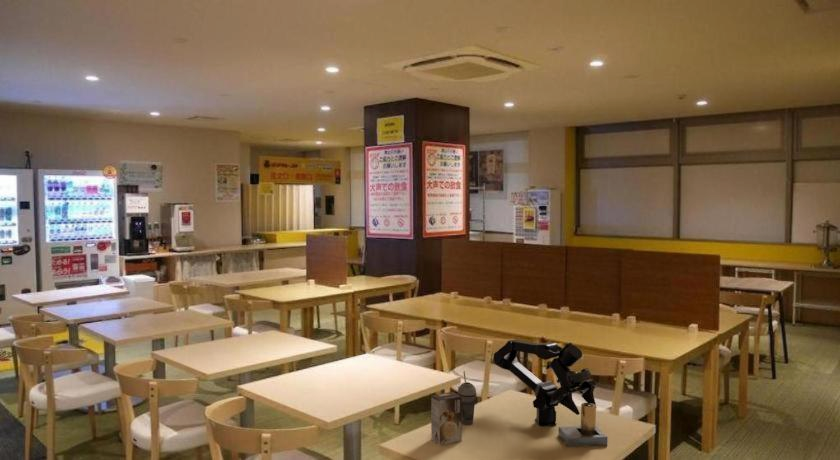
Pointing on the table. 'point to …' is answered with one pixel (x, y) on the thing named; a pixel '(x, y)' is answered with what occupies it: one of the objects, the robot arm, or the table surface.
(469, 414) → the beverage cup
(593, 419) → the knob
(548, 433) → the table surface
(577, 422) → the table surface
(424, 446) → the table surface
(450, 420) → the coffee box
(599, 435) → the frame
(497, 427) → the table surface
